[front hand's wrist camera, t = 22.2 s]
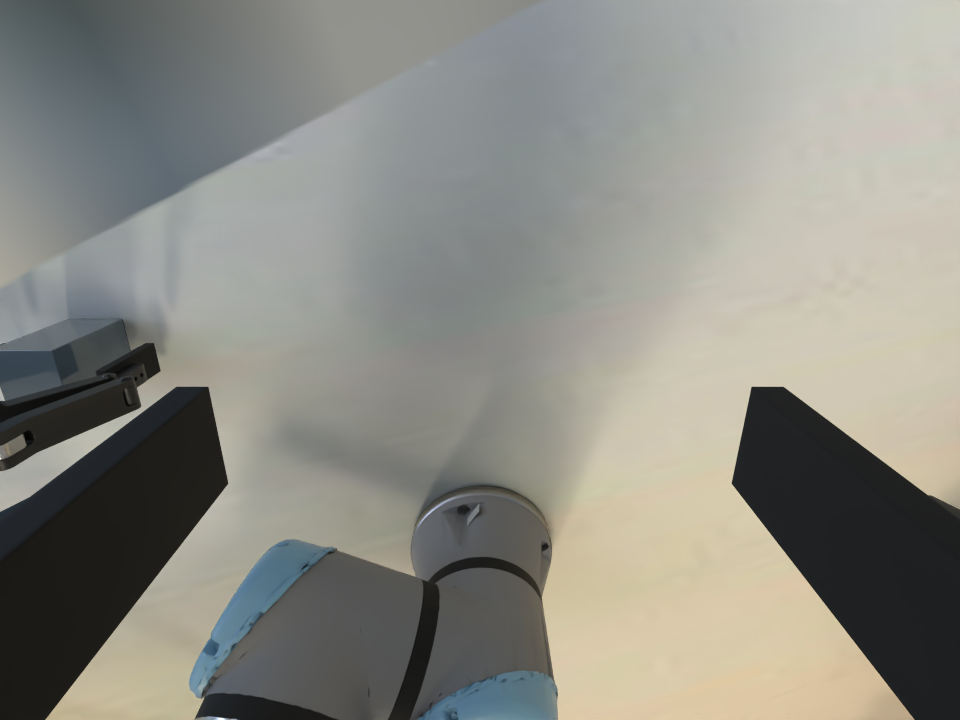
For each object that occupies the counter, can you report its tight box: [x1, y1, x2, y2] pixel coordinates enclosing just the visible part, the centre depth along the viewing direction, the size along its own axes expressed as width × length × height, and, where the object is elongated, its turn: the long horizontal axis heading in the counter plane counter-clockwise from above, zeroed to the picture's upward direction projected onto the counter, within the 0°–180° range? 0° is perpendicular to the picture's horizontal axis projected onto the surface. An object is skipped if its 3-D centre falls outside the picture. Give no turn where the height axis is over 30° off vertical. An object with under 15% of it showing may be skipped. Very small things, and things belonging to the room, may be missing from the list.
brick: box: [0, 319, 131, 401], centre depth 45 cm, size 5×6×9 cm
